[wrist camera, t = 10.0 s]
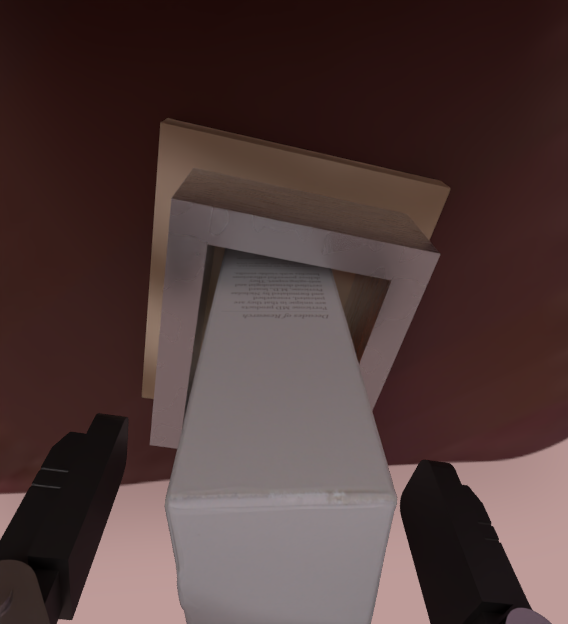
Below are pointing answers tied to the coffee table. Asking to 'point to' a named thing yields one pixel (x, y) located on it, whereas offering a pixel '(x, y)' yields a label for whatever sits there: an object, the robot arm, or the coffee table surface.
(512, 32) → the coffee table surface
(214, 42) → the coffee table surface
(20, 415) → the coffee table surface
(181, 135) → the birch board
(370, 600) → the skincare box
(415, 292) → the duct collar
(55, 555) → the robot arm
